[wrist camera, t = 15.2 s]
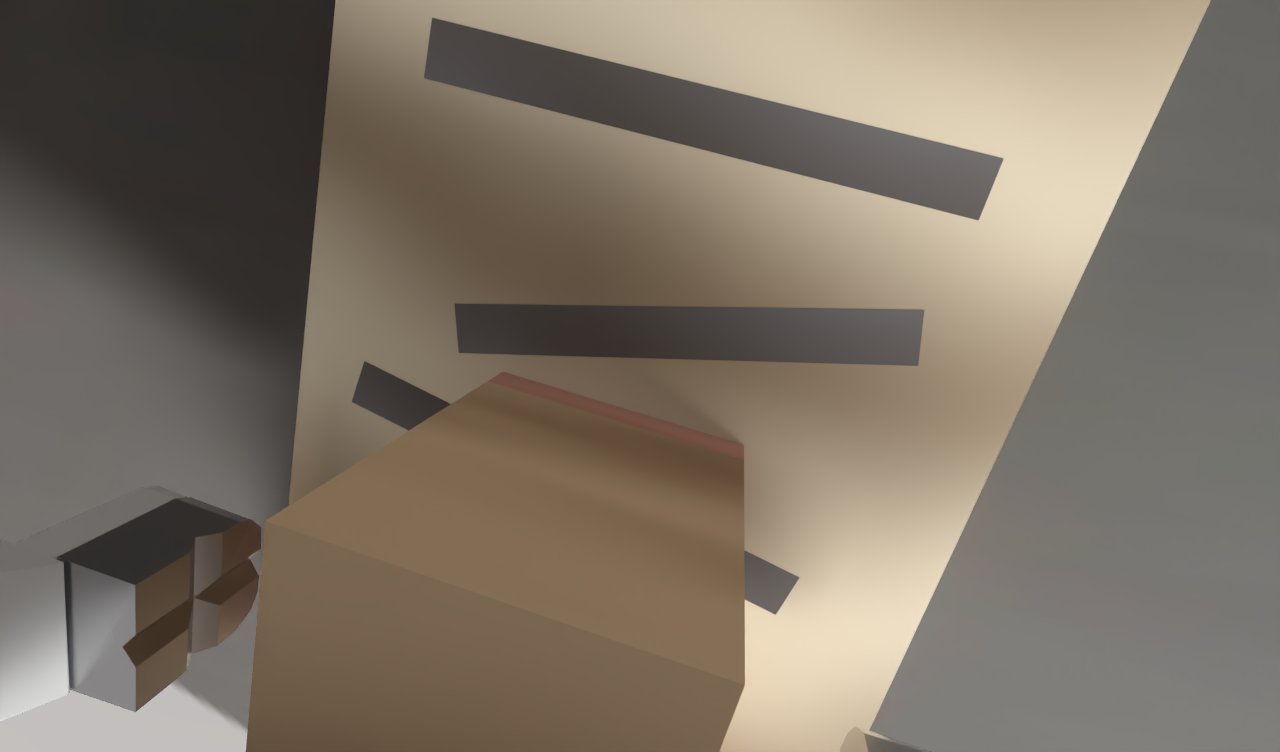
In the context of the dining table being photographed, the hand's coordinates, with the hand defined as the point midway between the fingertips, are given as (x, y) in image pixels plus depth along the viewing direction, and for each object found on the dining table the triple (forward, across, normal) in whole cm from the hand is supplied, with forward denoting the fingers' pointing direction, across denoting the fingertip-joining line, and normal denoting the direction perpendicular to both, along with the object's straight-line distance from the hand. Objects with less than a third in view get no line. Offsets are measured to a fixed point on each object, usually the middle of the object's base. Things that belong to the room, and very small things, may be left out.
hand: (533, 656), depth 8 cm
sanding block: (+2, 0, +1) cm, 3 cm away
